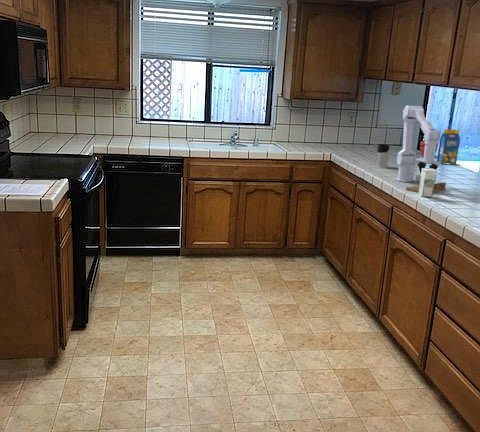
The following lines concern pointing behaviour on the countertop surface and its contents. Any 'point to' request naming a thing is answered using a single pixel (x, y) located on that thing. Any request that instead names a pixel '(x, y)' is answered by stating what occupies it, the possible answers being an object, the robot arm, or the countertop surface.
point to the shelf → (436, 188)
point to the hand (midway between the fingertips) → (426, 176)
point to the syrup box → (427, 182)
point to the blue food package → (449, 146)
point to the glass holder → (381, 155)
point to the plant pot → (424, 147)
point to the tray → (419, 178)
